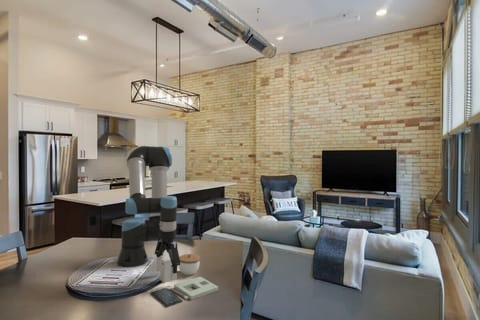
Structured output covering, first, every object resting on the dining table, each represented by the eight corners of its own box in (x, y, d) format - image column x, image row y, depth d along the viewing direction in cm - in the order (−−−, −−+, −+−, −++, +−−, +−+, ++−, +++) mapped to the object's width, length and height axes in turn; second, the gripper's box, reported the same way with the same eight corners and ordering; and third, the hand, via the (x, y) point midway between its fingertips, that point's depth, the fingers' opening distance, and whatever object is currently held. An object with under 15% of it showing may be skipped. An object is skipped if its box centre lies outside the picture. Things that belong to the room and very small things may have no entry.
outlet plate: (174, 287, 130) (174, 284, 130) (200, 279, 139) (200, 276, 139) (191, 300, 119) (191, 296, 119) (218, 290, 129) (218, 286, 129)
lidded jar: (178, 278, 140) (179, 258, 140) (177, 269, 150) (177, 251, 150) (201, 276, 143) (201, 257, 143) (198, 268, 153) (198, 250, 153)
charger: (160, 280, 137) (160, 258, 137) (167, 277, 140) (168, 257, 140) (164, 283, 134) (164, 261, 134) (172, 280, 137) (172, 259, 137)
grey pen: (167, 289, 128) (167, 287, 128) (169, 288, 129) (169, 286, 129) (186, 299, 119) (186, 297, 119) (188, 298, 120) (188, 296, 120)
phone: (150, 295, 123) (150, 292, 123) (165, 290, 128) (165, 287, 128) (166, 308, 113) (166, 305, 113) (182, 303, 118) (182, 300, 118)
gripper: (148, 225, 143) (147, 268, 144) (174, 237, 125) (172, 286, 125) (162, 223, 148) (161, 265, 149) (189, 234, 130) (187, 281, 130)
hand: (166, 274), depth 137 cm, fingers open, 13 cm apart
